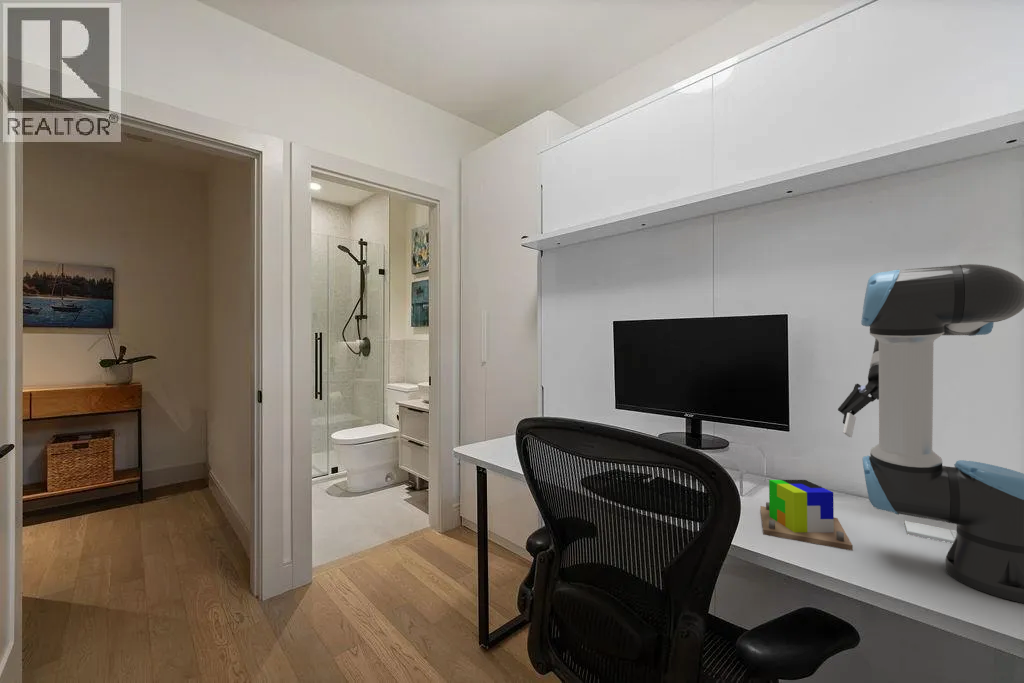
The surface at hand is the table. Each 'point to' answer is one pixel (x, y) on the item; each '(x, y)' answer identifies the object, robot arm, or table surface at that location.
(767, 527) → the base plate
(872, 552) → the table surface
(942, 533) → the external hard drive
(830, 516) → the puzzle toy
